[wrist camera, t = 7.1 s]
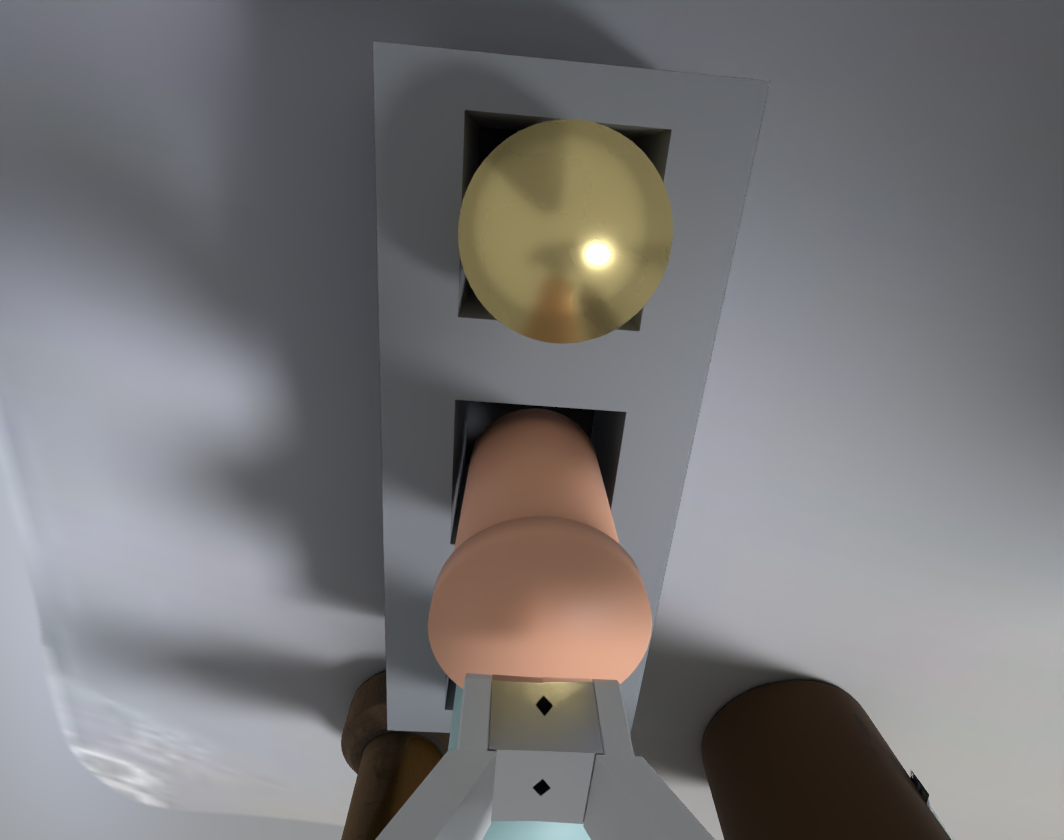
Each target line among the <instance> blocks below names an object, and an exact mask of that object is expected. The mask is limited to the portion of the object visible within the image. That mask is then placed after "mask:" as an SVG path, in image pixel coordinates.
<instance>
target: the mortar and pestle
mask: <svg viewBox="0 0 1064 840" xmlns="http://www.w3.org/2000/svg"><path fill="white" fill-rule="evenodd" d="M449 738H450V733H441V732H418V731H395V730H387V686H386V671H383V672H381V673H378V674H376V675H375V676H373V677H372V678H371V679H369V680H368V681H366V682H365V683H363V684H362V685H361V686H360V688H359V689H358V690H357V692H356V694H355V695H354V698H353V700H352V703H351V706H350V709H349V713H348V716H347V720H346V723H345V727H344V730H343V734H342V740H341V747H342V752H343V755H344V758H345V760H346V761H347V763H348V764H349V766H350V767H351V768H352V769H353V770H354V771H355V772H356V773H357V774H358V775H357V780H356V784H355V787H354V791H353V795H352V799H351V803H350V807H349V811H348V815H347V819H346V823H345V827H344V831H343V835H342V839H341V840H375V839H376V838H377V837H378V836H379V834H380V833H381V832H382V831H383V829H384V828H385V827H386V826H387V825H388V823H389V822H390V821H391V820H392V818H393V817H394V816H395V815H396V814H397V812H398V811H399V810H400V809H401V808H402V806H403V805H404V804H405V803H406V801H407V800H408V799H409V798H410V797H411V795H412V794H413V793H414V792H415V790H416V789H417V788H418V787H419V786H420V784H421V783H422V782H423V781H424V779H425V778H426V777H427V776H428V775H429V773H430V772H431V771H432V770H433V768H434V767H435V766H436V765H437V764H438V762H439V761H440V760H441V759H442V757H443V756H444V755H445V754H446V753H447V751H448V746H449Z"/></svg>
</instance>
